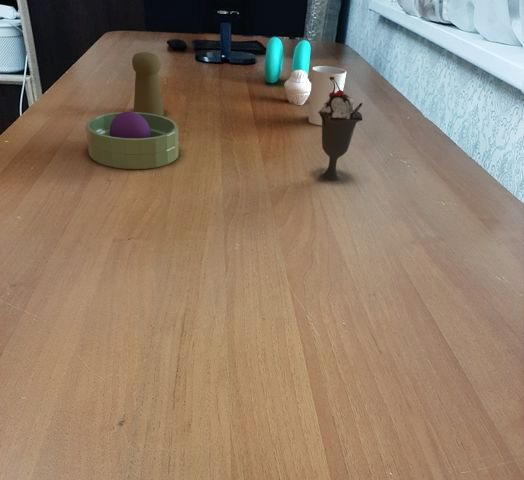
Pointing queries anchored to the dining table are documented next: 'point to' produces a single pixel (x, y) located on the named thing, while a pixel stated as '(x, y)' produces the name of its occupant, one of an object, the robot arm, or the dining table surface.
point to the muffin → (297, 87)
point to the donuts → (276, 58)
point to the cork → (147, 84)
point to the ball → (129, 126)
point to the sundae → (337, 128)
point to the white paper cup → (323, 89)
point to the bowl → (133, 143)
